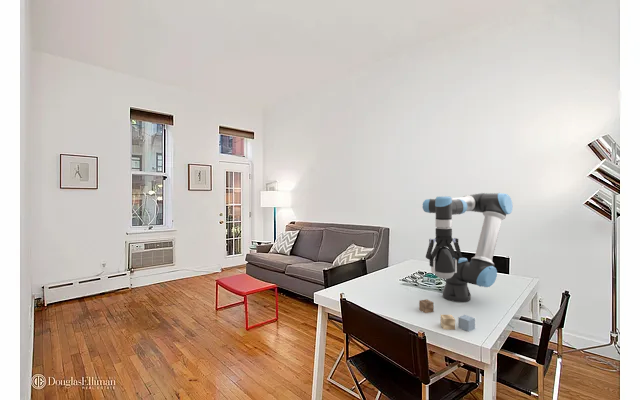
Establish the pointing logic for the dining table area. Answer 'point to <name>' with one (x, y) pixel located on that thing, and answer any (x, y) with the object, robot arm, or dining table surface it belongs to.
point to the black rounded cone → (444, 263)
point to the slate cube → (466, 323)
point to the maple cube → (447, 322)
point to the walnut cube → (426, 306)
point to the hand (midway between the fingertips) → (443, 272)
